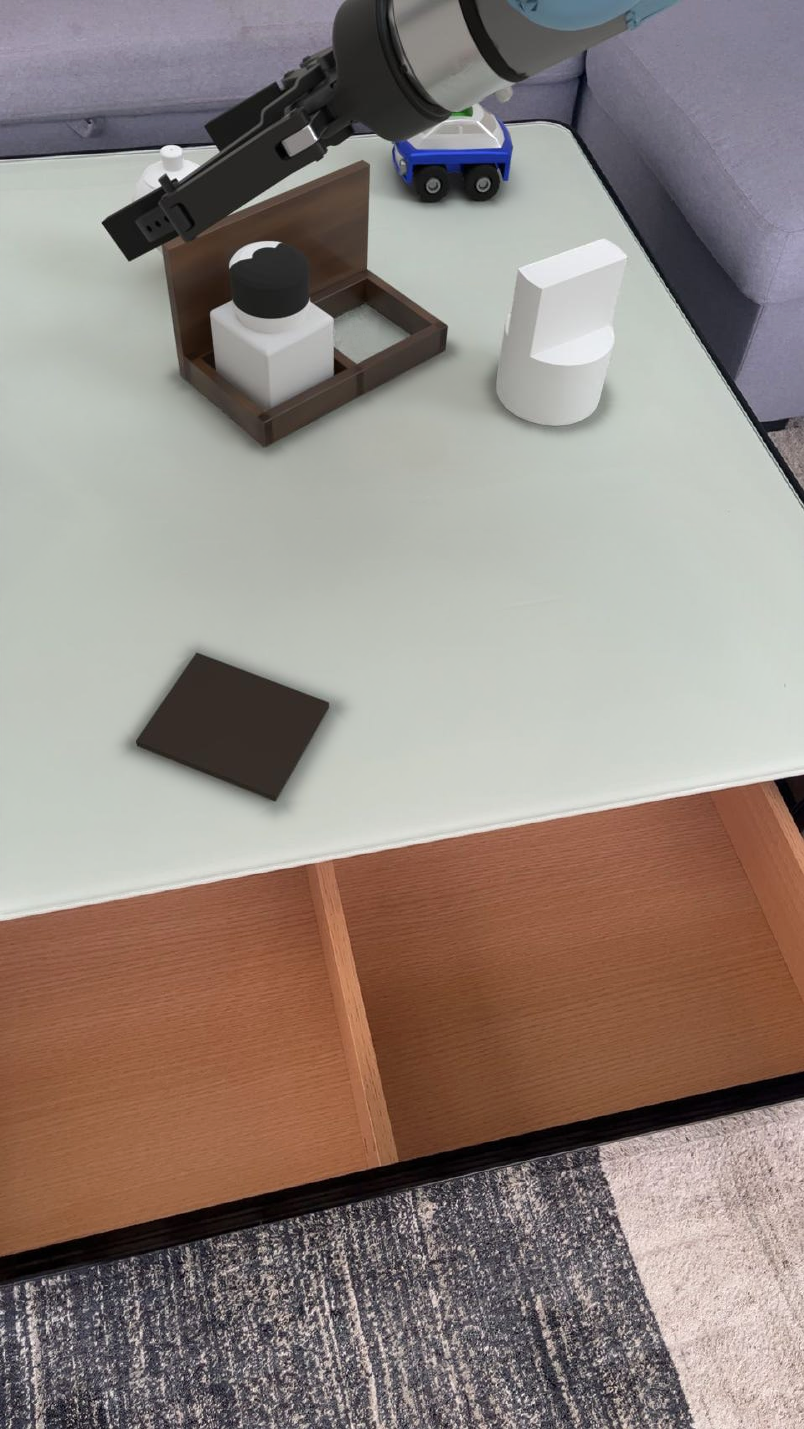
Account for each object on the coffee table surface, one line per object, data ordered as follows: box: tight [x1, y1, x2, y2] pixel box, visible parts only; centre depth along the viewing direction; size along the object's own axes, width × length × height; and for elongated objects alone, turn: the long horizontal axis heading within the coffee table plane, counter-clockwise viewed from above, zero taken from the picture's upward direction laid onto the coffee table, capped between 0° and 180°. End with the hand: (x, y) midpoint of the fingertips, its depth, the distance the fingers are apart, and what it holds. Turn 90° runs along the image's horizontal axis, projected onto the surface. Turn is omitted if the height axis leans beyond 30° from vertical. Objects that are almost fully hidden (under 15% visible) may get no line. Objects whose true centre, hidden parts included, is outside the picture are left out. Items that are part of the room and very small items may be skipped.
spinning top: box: [132, 144, 201, 256], centre depth 93 cm, size 8×8×12 cm
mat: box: [135, 652, 330, 802], centre depth 70 cm, size 10×8×1 cm
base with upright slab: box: [495, 237, 628, 427], centre depth 86 cm, size 9×9×12 cm
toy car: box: [390, 103, 514, 203], centre depth 106 cm, size 9×12×10 cm
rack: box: [162, 159, 449, 448], centre depth 87 cm, size 12×20×12 cm, turn 132°
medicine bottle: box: [210, 241, 335, 411], centre depth 85 cm, size 7×7×12 cm
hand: (170, 189), depth 71 cm, fingers open, 13 cm apart
